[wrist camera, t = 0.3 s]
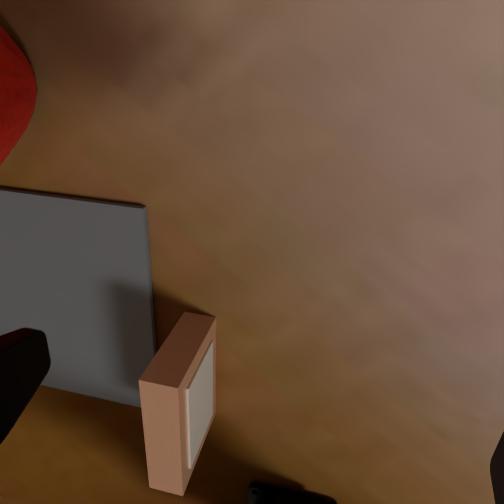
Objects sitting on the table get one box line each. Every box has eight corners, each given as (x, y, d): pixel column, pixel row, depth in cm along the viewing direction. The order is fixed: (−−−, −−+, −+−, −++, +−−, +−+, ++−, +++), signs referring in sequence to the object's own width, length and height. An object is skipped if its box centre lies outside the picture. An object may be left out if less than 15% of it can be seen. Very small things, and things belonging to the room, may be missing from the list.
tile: (217, 413, 28) (184, 496, 22) (187, 406, 28) (149, 487, 23) (218, 316, 24) (180, 388, 19) (184, 310, 25) (138, 380, 19)
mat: (160, 407, 29) (158, 411, 28) (-32, 364, 32) (-36, 367, 31) (146, 206, 22) (142, 208, 22) (-95, 175, 25) (-102, 177, 25)
